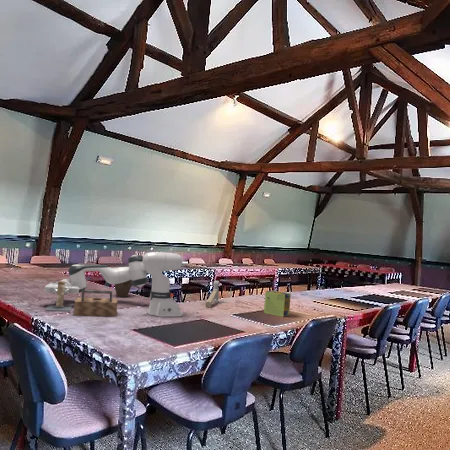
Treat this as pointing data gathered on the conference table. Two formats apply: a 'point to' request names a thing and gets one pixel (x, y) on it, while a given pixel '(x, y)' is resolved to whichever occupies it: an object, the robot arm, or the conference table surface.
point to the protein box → (277, 303)
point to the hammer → (213, 295)
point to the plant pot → (123, 288)
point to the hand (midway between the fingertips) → (60, 291)
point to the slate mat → (58, 308)
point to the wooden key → (60, 293)
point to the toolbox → (95, 305)
